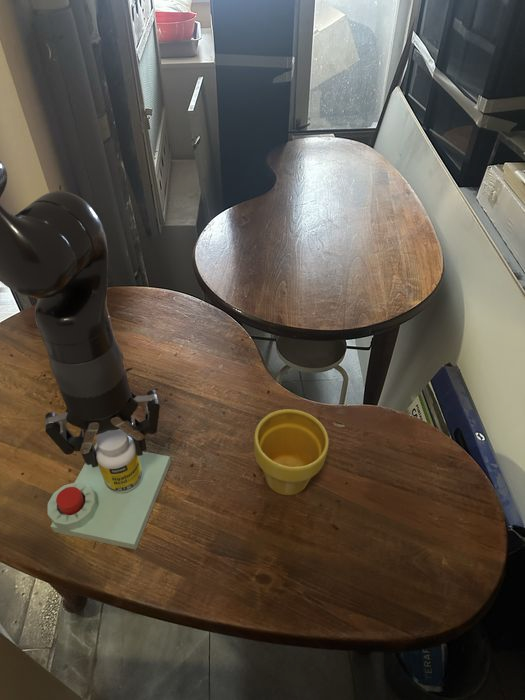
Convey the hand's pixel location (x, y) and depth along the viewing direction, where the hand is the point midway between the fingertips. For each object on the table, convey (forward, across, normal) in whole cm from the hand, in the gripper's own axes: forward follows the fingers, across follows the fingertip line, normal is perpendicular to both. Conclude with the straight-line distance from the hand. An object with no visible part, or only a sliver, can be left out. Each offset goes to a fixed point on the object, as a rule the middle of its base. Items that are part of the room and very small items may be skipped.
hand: (117, 455), depth 66 cm
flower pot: (+8, +23, -6) cm, 25 cm away
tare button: (+4, -7, -3) cm, 9 cm away
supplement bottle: (+6, 0, 0) cm, 6 cm away
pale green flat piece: (+7, -2, -1) cm, 8 cm away
